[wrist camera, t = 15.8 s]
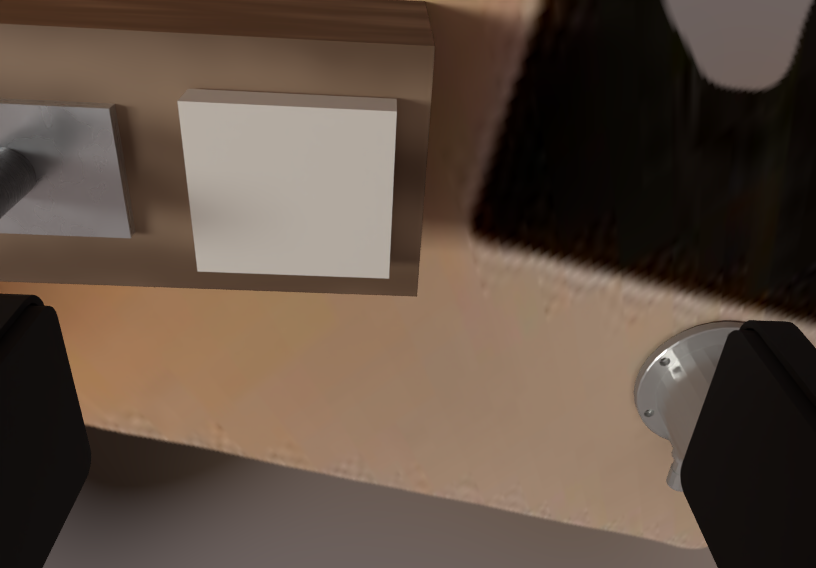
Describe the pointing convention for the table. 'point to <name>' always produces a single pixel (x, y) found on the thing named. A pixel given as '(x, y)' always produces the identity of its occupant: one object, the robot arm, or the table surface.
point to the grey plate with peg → (62, 170)
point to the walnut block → (212, 70)
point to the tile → (289, 182)
